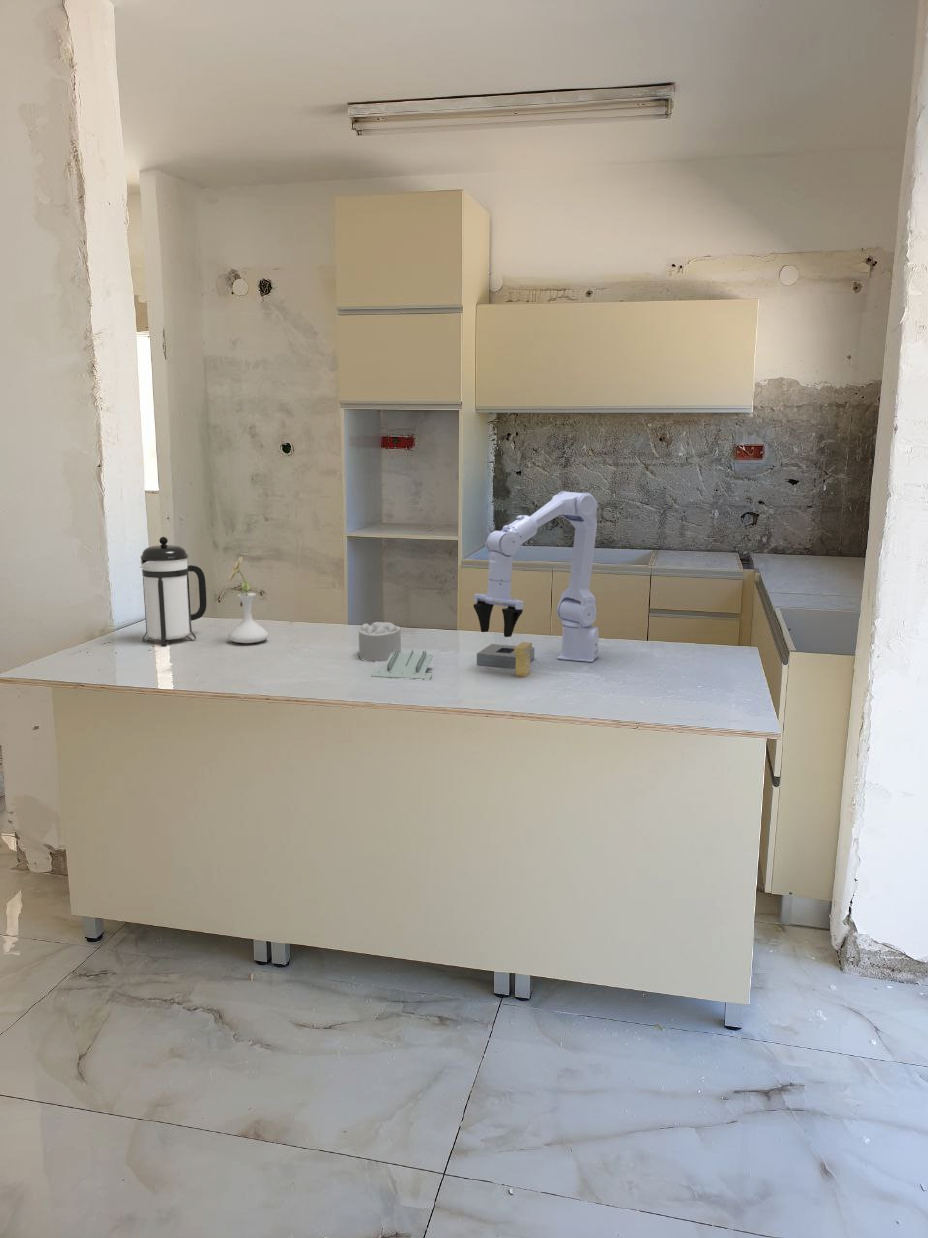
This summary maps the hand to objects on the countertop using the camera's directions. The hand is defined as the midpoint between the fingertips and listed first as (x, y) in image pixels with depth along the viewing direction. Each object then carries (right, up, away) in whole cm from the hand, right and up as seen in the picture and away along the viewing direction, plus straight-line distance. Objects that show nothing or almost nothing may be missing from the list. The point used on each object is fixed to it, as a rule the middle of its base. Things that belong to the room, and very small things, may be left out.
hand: (496, 634), depth 231 cm
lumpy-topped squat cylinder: (-31, -6, +19) cm, 37 cm away
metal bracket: (-22, -10, +2) cm, 25 cm away
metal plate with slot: (+3, -7, +13) cm, 15 cm away
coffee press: (-92, -2, +38) cm, 100 cm away
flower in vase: (-70, -3, +35) cm, 78 cm away
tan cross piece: (+7, -10, 0) cm, 12 cm away
